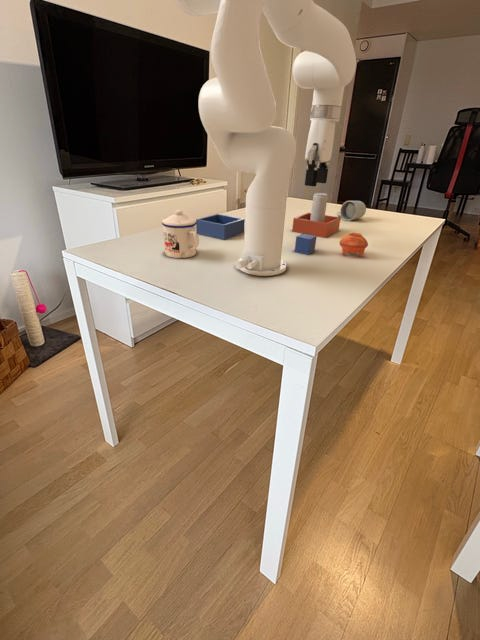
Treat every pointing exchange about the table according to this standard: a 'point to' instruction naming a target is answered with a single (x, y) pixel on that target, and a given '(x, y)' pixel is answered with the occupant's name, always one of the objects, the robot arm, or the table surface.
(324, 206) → the beverage can
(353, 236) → the pot
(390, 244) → the table surface
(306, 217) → the terracotta bin
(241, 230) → the blue bin
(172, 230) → the teacup with lid
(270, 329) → the table surface
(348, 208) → the ceramic mug
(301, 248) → the blue block
